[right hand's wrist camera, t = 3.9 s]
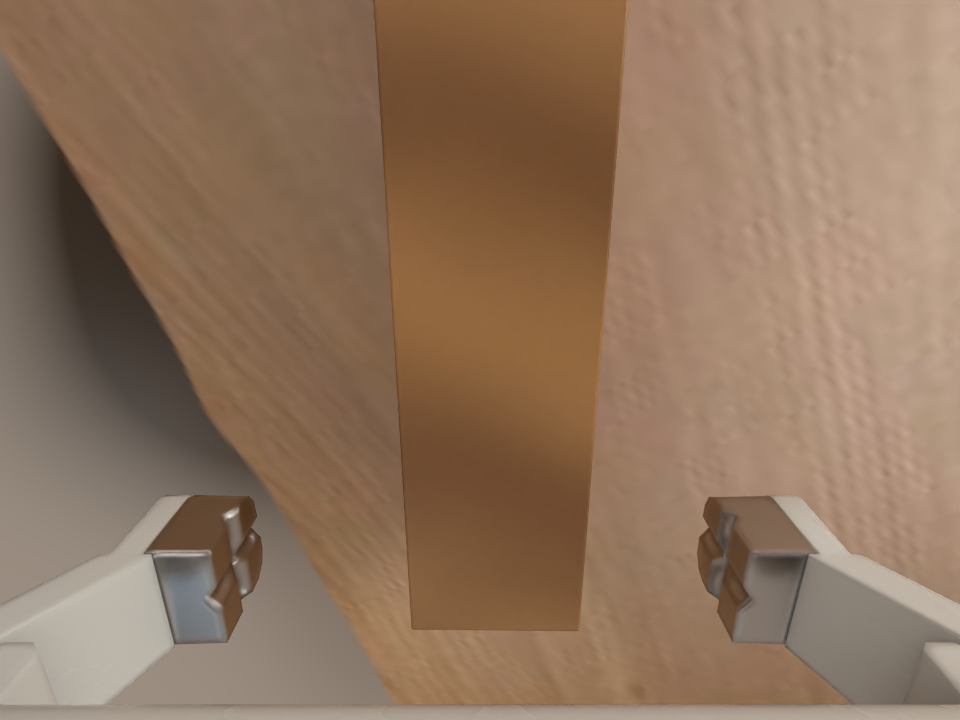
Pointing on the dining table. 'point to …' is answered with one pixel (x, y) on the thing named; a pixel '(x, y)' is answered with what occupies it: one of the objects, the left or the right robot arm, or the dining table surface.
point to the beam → (498, 293)
